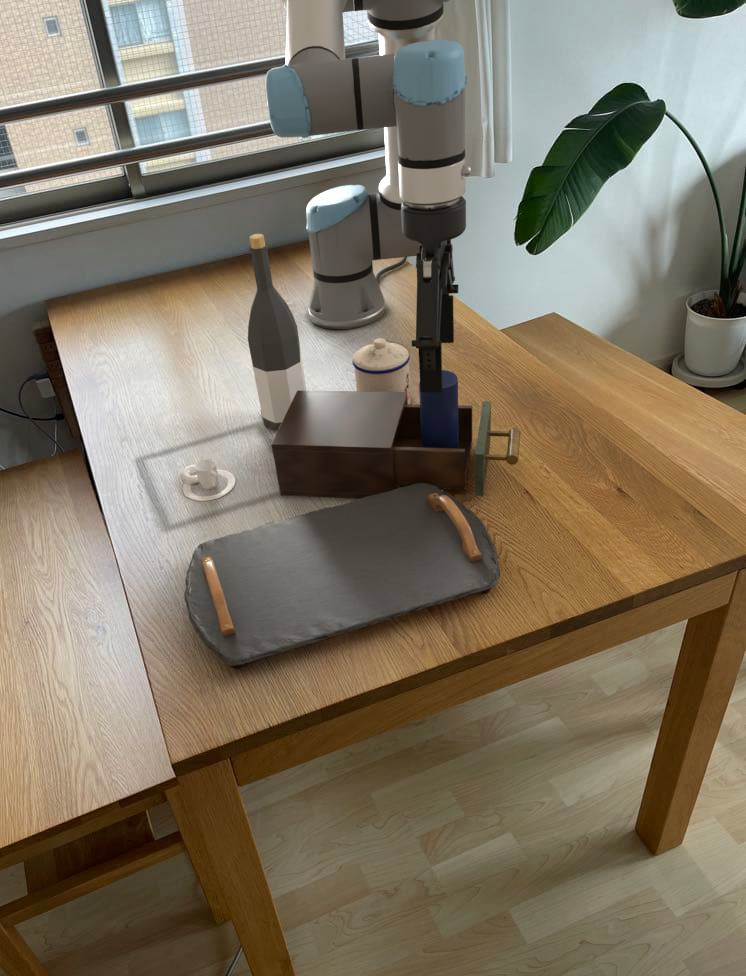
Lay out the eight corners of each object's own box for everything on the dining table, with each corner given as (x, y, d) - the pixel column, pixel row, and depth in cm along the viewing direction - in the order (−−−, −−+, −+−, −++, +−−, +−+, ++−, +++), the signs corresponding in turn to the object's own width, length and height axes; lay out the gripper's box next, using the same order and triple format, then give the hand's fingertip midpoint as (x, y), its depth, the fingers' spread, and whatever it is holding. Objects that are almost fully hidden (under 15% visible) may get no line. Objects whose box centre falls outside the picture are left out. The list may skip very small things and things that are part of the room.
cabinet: (410, 442, 125) (407, 392, 120) (394, 500, 114) (390, 448, 109) (304, 439, 129) (297, 390, 123) (280, 495, 118) (270, 444, 113)
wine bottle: (256, 414, 137) (221, 234, 118) (300, 400, 139) (273, 221, 120) (272, 436, 131) (238, 251, 112) (318, 422, 133) (292, 237, 114)
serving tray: (208, 691, 91) (196, 653, 87) (176, 565, 108) (165, 529, 104) (523, 593, 98) (526, 554, 94) (446, 489, 115) (445, 453, 111)
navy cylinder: (424, 449, 120) (421, 369, 112) (460, 450, 119) (459, 369, 110) (420, 469, 116) (416, 388, 108) (456, 470, 115) (455, 389, 106)
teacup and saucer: (177, 479, 125) (170, 457, 122) (226, 464, 127) (221, 442, 124) (190, 509, 118) (184, 486, 116) (242, 493, 120) (237, 470, 118)
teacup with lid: (418, 413, 131) (415, 347, 124) (363, 424, 131) (357, 358, 123) (399, 379, 141) (395, 316, 133) (348, 389, 140) (341, 326, 133)
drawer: (520, 442, 121) (522, 401, 116) (516, 497, 110) (517, 455, 106) (387, 438, 125) (384, 399, 121) (371, 491, 115) (367, 450, 111)
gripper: (454, 236, 84) (456, 414, 97) (475, 165, 103) (474, 323, 116) (382, 238, 86) (394, 413, 99) (415, 168, 104) (422, 323, 118)
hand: (437, 365), depth 108 cm, fingers open, 13 cm apart
